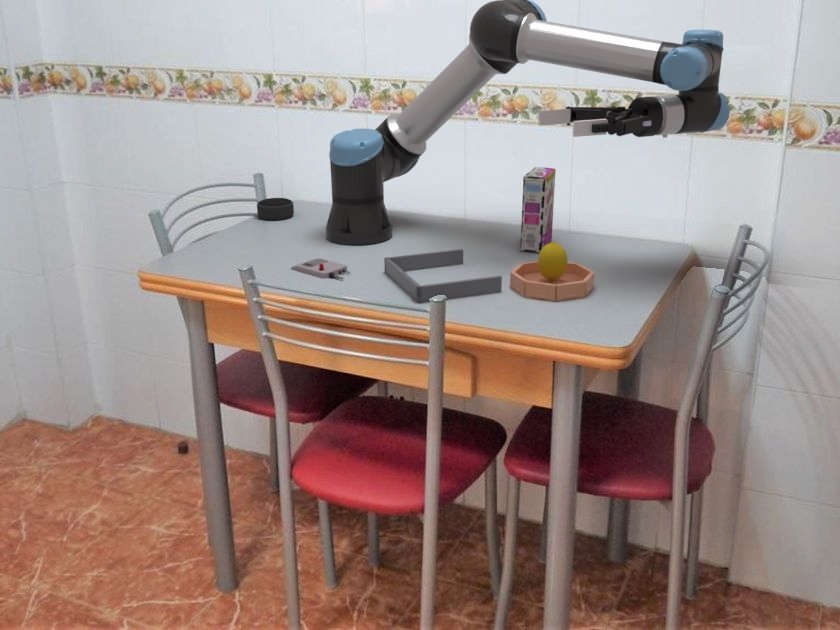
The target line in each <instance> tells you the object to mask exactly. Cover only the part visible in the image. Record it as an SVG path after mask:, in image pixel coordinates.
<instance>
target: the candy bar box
mask: <svg viewBox="0 0 840 630" xmlns="http://www.w3.org/2000/svg"><path fill="white" fill-rule="evenodd" d="M556 170H557V169H556V168H553V167H541V166H540V167H539V166H538V167H536V166H534V167H533V169H531V170H529V172H527V173H526V174H525V175H523V178H522V179H523V180H522V182H523V185H522V204H521V226H520V227H521V229H520V246H519V247H520V248H519V251H521V252H527V253H537V254H540V251H541V249H542V248H543V247H544V246H545V245H547V244H549V243H551V242H552V239H553V237H552V236H553V221H554V220H553V219H554V218H553V217H554V204H555V203H554V202H555V201H554V199H555V185H556V182H555V181H556Z"/></svg>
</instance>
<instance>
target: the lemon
mask: <svg viewBox="0 0 840 630" xmlns="http://www.w3.org/2000/svg"><path fill="white" fill-rule="evenodd" d="M538 254H539V255H538V260H537V261H538V268H539V271H540V273H541V274H542V275H543V276H544V277H545V278H547V279H548V280H549V281H550V282H554V281H555V280H556V279H558V278H560V277H561V276H563V274H564V273H565V271H566V269H567V263H568V262H569V260H568V255H567V251H566V249H565V248H564V247H563V246H562V245H561V244H559V243H557V241H550V242H549V243H548V244H547V245H545V246H544V247H543V248H542V249H541V251H540V253H538Z"/></svg>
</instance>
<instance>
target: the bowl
mask: <svg viewBox="0 0 840 630" xmlns="http://www.w3.org/2000/svg"><path fill="white" fill-rule="evenodd" d="M509 273H510V274H509V275H510V276H509V277H510V279H509V280H510V281H509V287H510V288H511V289H512V290H513V291H514V292H516V293H517V294H519V295H520V296H522V297H524V298H529V299H534V300H542V301H551V302H560V301H561V302H562V301H569V300H576V299H582V298H583V299H584V298H586V297H587V296H588V295H589V294H590V293H591V292H592V290H593V289H594V287H595V271H593V270H592V269H590V268H588V267H586V266H585V265H582V264H581V263H578V262H572V261H568V263H567V269H566V271H565V273H564V274H563V276H561V277H560V278H558V279H556V280H555V281H554V282H550V281H549V280H548V279H547V278H545V277H544V276H543V275H542V274H541V273H540V271H539V268H538V260H533V261H525V262H521V263H519V264H518V265H517V266H515V267H514V268H513V269H512V270H511V271H510V272H509Z"/></svg>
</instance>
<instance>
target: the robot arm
mask: <svg viewBox="0 0 840 630" xmlns="http://www.w3.org/2000/svg"><path fill="white" fill-rule="evenodd" d="M468 43H469V44H468V45H467V46H466V47H465V48H464V49H463V50H462V51H461V52H459V54H458V55H457V56H456V57H455V58H454V59H453V60H452V61H451V62H450V63H449V64H448V65H447V66H446V67H445V68H444V69H443V70H442V71H441V72H440V73H439V74H438V75H437V76H436V77H435V78H434V79H433V80H432V81H431V82H430V83H429V84H428V85H427V86H426V87H425V88H424V89H423V90H422V91H421V92H420V93H419V94H418V95H417V96H416V98H414V99H413V100H412V101H411V102H410V104H409V105H407V106H406V108H404V109H403V111H402V112H400V113H395V112H394V113H390V114H389V115H388V116H387V117H386V118H385V119H384V120H383V121H382V122H381V123H380V124H379V125H378V126H377V127H376V128H375V129H372V128H353V129H351V130H344V131H341V132H339V133H336V134H335V135H333V136H332V138H331V140H330V143H329V154H328V155H329V156H328V157H329V162H330V182H331V200H332V201H331V208H330V211H329V214H328V218H327V221H326V225H325V238H326V239H327V240H328V241H329V242H332V243H335V244H341V245H350V246H354V245H355V246H361V245H363V246H365V245H372V244H373V245H374V244H377V243H382V242H385V241H387V240H390V239H391V238H392V237H393V225H392V221H391V218H390V216H389V214H388V209H387V207H386V204H385V199H384V198H385V195H384V192H385V191H384V187H385V186H384V183H386V182H388V181H390V180H392V179H395V178H399V177H401V176H403V175H406V174H407V173H409V172H410V171H411V170H413V168H415V167H416V165H417V164H418V161H419V159H420V158H421V156H422V155H423V154H424V153H425V152H426V150H427V141H428V140H429V139H430V138H432V136H434V135H435V133H437V132H438V131H439V130H440V129H441V127H443V125H445V124H446V122H448V121H449V120H450V119H452V117H453V116H454V115H455V114H456V113H457V112H459V110H460V109H461V108H463V106H464V105H465V104H467V103H468V102H469V101H470V100H471V99H472V98H473V97H474V96H475V95H476V94H477V93H478V92H479V91H480V90H481V89H483V87H484V86H485V85H487V83H489V82H490V81H491V80H492V79H493V78H494V77H495V76H496V75H507V74H508V73H509V72H510V71H511V70H512V69H513V68H515V67H516V66H517V65H518V64H519V65H520V64H522V65H524V64H526V63H527V62H529V61H533V62H539V63H545V64H550V65H555V66H563V67H568V68H573V69H577V70H583V71H588V72H594V73H600V74H605V75H611V76H617V77H623V78H629V79H634V80H638V81H645V82H649V83H650V82H651V83H655V84H658V85H663V86H667V87H668V88H670V89H671V90H673V91H678V94H667V95H654V96H640V97H639V96H638V97H635V98H634V99H632V101H631V102H630V103H629V105H628V107H627V108H626V106H617V107H616V106H614V105H613V106H612V105H611V106H566V107H565V108H561V109H545V110H538V126H553V125H565V124H566V126H570V125H571V123H573V124H572V125H573V126H572V137H575V138H576V137H591V136H603V135H604V136H605V135H607V134H608V135H609V136H612V135H615V134H616V136H617V137H622V136H626V135H631V134H632V135H633V136H635V137H637V138H645V137H646V138H647V137H654V136H662V138H663V139H665V138H666V139H667V138H668V135H677V134H678V135H679V134H681V135H682V134H693V133H696V134H697V133H700V134H701V133H706V132H713V131H717V130H720V129H722V128H723V127H725V125H726V124H727V122H728V121H729V118H730V114H731V108H730V106H729V104H730V103H729V99H728V98H727V96H726V95H725V94H724V93H723V92H720V89H719V86H720V84H719V83H720V77H721V75H720V74H721V69H722V58H723V52H724V34H723V32H722V31H721V30H718V29H717V30H716V29H689V30H686V31H685V32H684V33H683V38H682V43H676V42H671V41H670V42H669V41H664V40H658V39H653V38H652V39H651V38H647V37H640V36H634V35H628V34H622V33H617V32H611V31H610V32H609V31H604V30H599V29H593V28H588V27H581V26H574V25H569V24H563V23H558V22H553V21H552V22H551V21H547V17H546V14H545V12H544V10H543V9H542V8H541V7H540V6H539V4H538V3H536V2H534V1H533V0H493V1H489V2H487V3H485V4H483V5H482V6H480V7H479V8H478V10H476V12H475V13H474V15H473V17H472V19H471V22H470V27H469V34H468Z"/></svg>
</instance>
